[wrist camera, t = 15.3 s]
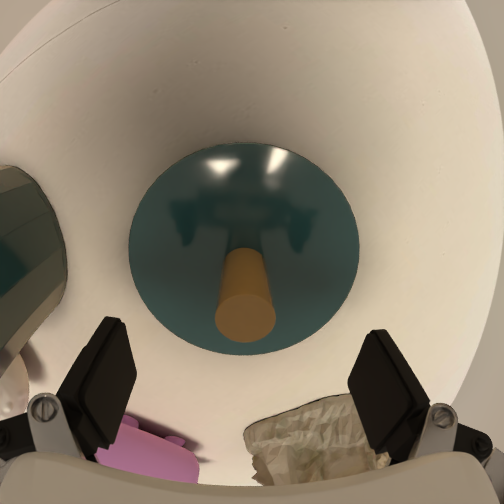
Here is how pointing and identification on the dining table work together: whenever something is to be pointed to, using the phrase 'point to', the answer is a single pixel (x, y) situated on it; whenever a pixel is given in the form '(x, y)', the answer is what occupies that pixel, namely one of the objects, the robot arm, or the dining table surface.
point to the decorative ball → (14, 389)
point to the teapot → (149, 454)
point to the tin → (26, 261)
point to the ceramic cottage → (311, 444)
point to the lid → (244, 248)
